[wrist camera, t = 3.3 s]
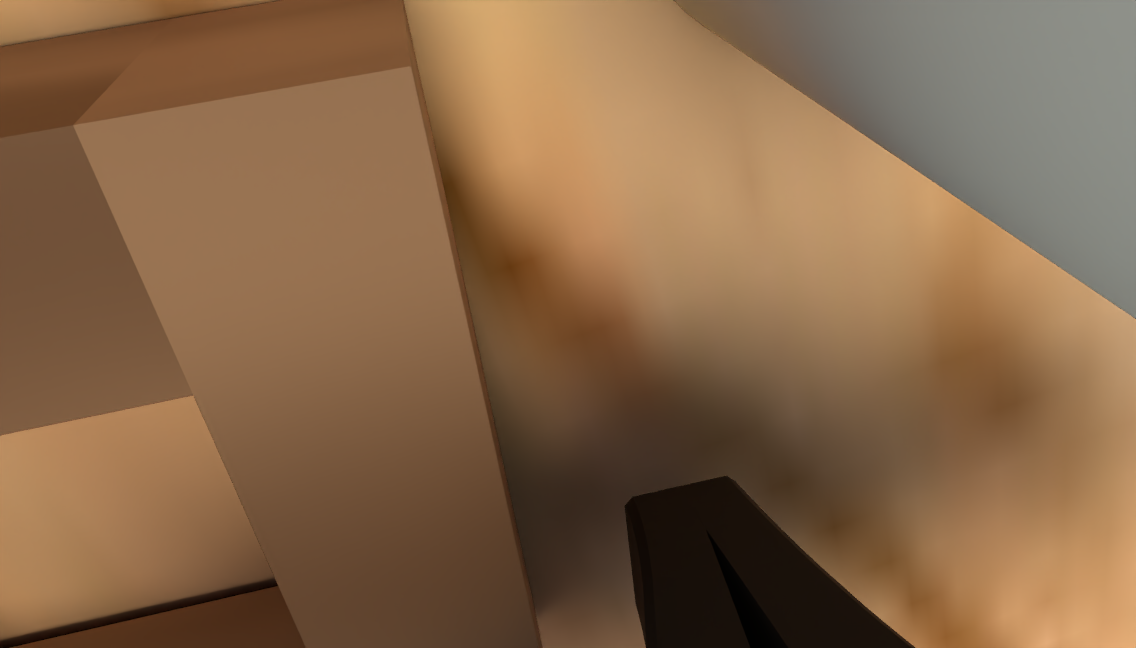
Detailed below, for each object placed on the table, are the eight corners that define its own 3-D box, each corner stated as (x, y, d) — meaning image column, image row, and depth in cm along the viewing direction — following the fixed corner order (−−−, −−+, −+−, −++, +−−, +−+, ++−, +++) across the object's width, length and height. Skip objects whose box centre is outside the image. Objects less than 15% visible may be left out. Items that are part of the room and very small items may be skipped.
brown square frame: (538, 628, 13) (579, 836, 10) (-110, 784, 12) (-242, 1052, 9) (399, -19, 8) (410, 66, 5) (-716, 165, 7) (-1341, 373, 4)
